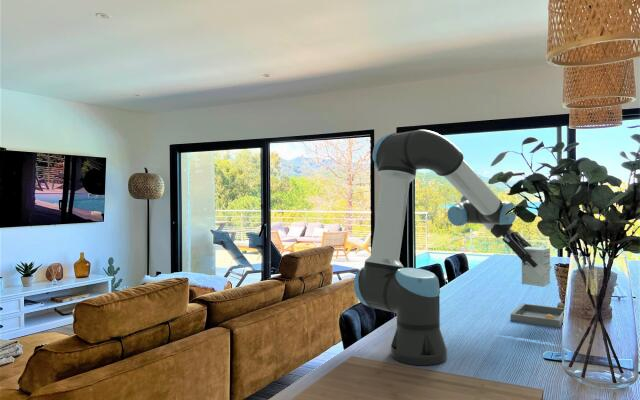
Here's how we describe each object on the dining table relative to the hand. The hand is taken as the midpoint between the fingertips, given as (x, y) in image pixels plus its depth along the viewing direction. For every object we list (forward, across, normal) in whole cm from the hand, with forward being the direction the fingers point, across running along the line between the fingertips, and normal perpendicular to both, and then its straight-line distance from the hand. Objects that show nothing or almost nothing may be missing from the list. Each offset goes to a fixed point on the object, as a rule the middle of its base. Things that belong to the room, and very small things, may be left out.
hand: (546, 271), depth 155 cm
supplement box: (+1, 0, +6) cm, 6 cm away
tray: (+10, +1, +14) cm, 17 cm away
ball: (+13, -5, +10) cm, 17 cm away
